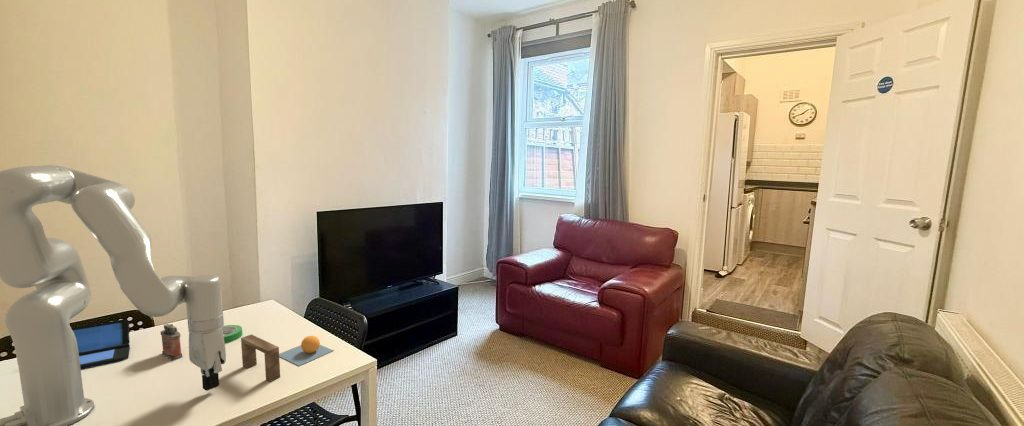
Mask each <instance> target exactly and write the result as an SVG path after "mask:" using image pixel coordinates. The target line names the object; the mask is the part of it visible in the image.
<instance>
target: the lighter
mask: <svg viewBox="0 0 1024 426" xmlns="http://www.w3.org/2000/svg"><path fill="white" fill-rule="evenodd" d="M160 335H161V342H162V343H161V344H162V356H163V357H164V358H165V359H168V360H172V361H174V360H175V361H176V360H180V359H181V358H183V353H182V347H181V345H182V344H181V333H180V332H179V331H178V328H177V327H176V326H175V325H173V323H170V324H169V323H166V324H163V330H161V331H160Z"/></svg>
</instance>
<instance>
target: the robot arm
mask: <svg viewBox="0 0 1024 426" xmlns="http://www.w3.org/2000/svg"><path fill="white" fill-rule="evenodd" d="M54 202H60V203H64V204H66V205H67V204H68V205H71V208H72V211H74V213H75V214H76V216H77V217H78V218H79V220H80V221H81V222H82V224H84V226H85V227H86V229H87V230H89V232H90V233H91V235H92V236H93V237H94V238H95V239H96V241H97V242H98V243H99V244H100V246H101V247H102V248H103V249H104V251H105V252H106V254H107V255H108V256H109V259H110V264H111V268H112V272H113V274H114V276H115V280H116V283H117V284H118V286H119V289H120V290H121V291H122V293H123V294H124V295H125V296H126V298H127V299H128V300H129V302H131V304H132V305H133V307H134V308H136V309H137V310H138V311H140V313H142V314H144V315H146V316H148V317H152V318H153V317H154V318H159V317H160V318H161V317H163V316H166V315H168V314H170V313H172V312H173V311H174V310H175V309H176V308H177V307H178V306H179V305H181V304H183V303H184V304H186V315H187V316H186V317H187V327H188V328H187V329H188V359H189V361H190V363H191V364H193V365H195V366H196V367H198V368H200V374H201V380H202V383H201V384H202V390H205V392H207V391H211V390H212V389H215V388H217V387H219V386H220V380H219V379H220V378H219V375H220V374H219V373H221V372H222V371H223V368H222V365H224V364H225V363H226V361H227V357H226V356H227V355H226V354H227V352H226V343H224V336H223V335H224V333H223V331H222V327H223V326H225V323H224V310H223V309H224V308H223V293H222V292H223V291H222V282H221V278H220V277H219V276H218V275H213V274H200V275H197V276H189V275H188V276H187V275H168V276H164V277H160V276H159V274H158V273H157V271H156V269H155V267H154V265H153V262H152V257H151V249H152V238H151V235H150V234H149V233H148V231H147V230H146V229H145V227H144V226H143V224H142V223H141V222H140V221H139V219H138V218H137V217H136V215H135V214H134V213H133V211H132V209H133V207H134V205H135V202H136V198H135V196H134V193H133V191H132V190H131V189H129V188H128V187H127V186H126V185H124V184H121V183H120V182H118V181H113V180H110V179H106V178H104V177H101V176H100V177H99V176H96V175H93V174H90V173H86V172H82V171H80V170H76V169H73V168H70V167H65V166H61V165H53V164H51V165H49V164H48V165H29V166H27V165H26V166H18V167H12V168H11V167H10V168H8V169H3V170H0V280H1V281H2V282H3V283H4V284H5V285H6V286H9V287H11V288H16V289H26V288H31V287H32V288H33V287H35V288H36V289H35V290H33V291H31V292H29V293H26V294H25V295H23V296H21V297H19V298H17V300H15V301H14V302H13V303H12V304H11V305H10V306H9V307H8V310H7V311H6V314H5V317H4V322H5V325H6V326H5V327H6V329H7V331H8V333H9V335H10V337H11V338H10V339H11V340H12V343H13V346H14V350H15V356H16V361H17V365H18V366H17V367H18V371H19V372H18V373H19V379H20V386H21V393H22V394H21V395H22V399H23V400H22V401H23V405H21V406H19V411H16V412H14V414H13V415H9V416H7V417H3V418H0V426H70V425H72V424H74V423H77V422H78V421H80V420H82V419H84V418H85V417H87V416H88V415H90V413H92V411H93V410H94V409H95V402H94V400H93V399H90V398H88V397H86V398H85V392H84V386H83V385H84V384H83V377H82V369H81V368H80V360H79V352H78V346H77V340H76V337H75V334H74V332H73V331H72V329H71V328H72V327H71V326H70V324H71V323H70V320H71V319H73V318H74V317H76V316H77V315H79V314H80V313H81V312H83V311H84V310H85V309H86V308H87V307H88V305H89V304H90V302H91V299H92V292H91V287H90V285H89V281H88V278H87V274H86V272H85V269H84V264H83V263H82V260H81V256H80V254H79V253H78V250H76V248H75V247H74V246H73V245H72V244H70V243H69V242H67V241H66V240H63V239H60V238H57V237H55V238H54V237H47V236H46V232H45V229H44V226H43V224H42V222H41V220H40V219H39V217H38V216H37V215H36V214H35V213H34V212H33V210H32V208H33V207H34V206H36V205H37V206H38V205H40V204H41V205H42V204H47V203H54Z"/></svg>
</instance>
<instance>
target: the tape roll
mask: <svg viewBox="0 0 1024 426" xmlns="http://www.w3.org/2000/svg"><path fill="white" fill-rule="evenodd" d="M222 331H223V336H224V343H225V344H228V343H231V342H234V341H236V340H239V339H241V338H242V337H243V327H242V326H241V325H239V324H228V325H227V324H226V325H224V326H223V327H222Z"/></svg>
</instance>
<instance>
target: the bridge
mask: <svg viewBox="0 0 1024 426" xmlns="http://www.w3.org/2000/svg"><path fill="white" fill-rule="evenodd" d="M240 343H241V346H240V347H241V359H242V361H241V363H242V368H244V369H250V368H252V367H253V366H256V365H257V361H258V359H257V351H259V352H261V353H263V354H264V369H265V380H266V381H268V382H272V381H274V380H277V379H279V378H281V367H280V366H281V365H280V364H281V363H280V357H279V354H280V348H279V346H278V345H275V344H273V343H271V342H269V341H267V340H264V339H262V338H260V337H258V336H257V335H253V334H248V335H246V336H241V337H240Z"/></svg>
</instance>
